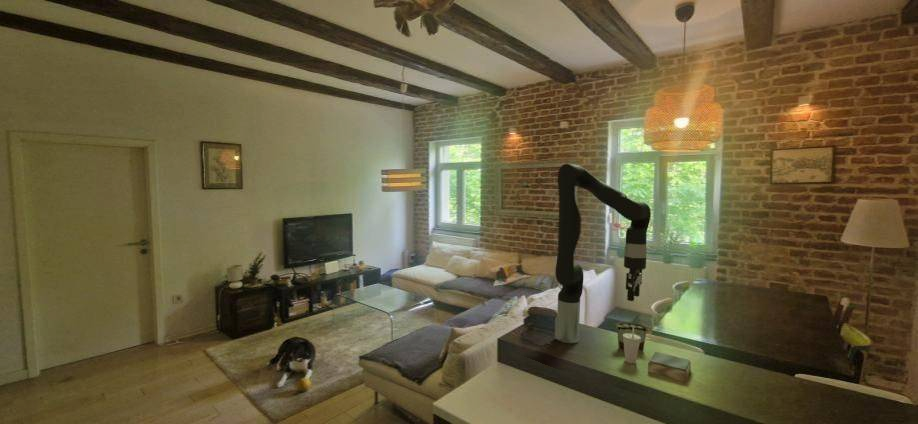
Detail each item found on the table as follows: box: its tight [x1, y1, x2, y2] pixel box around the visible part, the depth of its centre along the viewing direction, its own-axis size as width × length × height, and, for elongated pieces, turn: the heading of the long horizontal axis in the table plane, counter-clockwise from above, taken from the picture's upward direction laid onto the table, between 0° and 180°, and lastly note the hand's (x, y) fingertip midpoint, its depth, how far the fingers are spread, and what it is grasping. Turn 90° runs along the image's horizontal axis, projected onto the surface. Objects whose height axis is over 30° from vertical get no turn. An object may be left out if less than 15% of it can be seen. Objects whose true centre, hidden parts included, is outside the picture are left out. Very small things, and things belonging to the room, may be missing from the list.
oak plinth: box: [647, 351, 692, 383], centre depth 139 cm, size 12×11×4 cm
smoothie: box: [622, 325, 641, 364], centre depth 146 cm, size 6×6×14 cm
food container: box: [615, 321, 649, 352], centre depth 160 cm, size 12×6×10 cm, turn 84°
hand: (633, 298), depth 146 cm, fingers open, 8 cm apart
